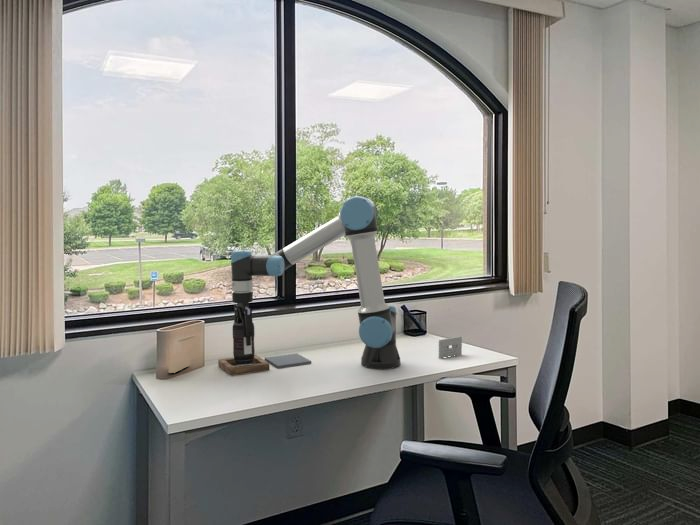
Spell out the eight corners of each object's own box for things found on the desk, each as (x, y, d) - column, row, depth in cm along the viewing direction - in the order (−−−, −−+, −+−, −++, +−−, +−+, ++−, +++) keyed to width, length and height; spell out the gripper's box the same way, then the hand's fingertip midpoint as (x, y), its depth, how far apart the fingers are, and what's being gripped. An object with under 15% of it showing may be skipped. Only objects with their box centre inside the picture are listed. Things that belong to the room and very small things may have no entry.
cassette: (440, 359, 224) (440, 340, 223) (437, 358, 225) (437, 339, 225) (462, 355, 230) (462, 336, 230) (459, 354, 232) (459, 336, 231)
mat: (311, 363, 217) (311, 361, 217) (277, 368, 210) (277, 365, 210) (296, 355, 229) (296, 353, 229) (264, 360, 223) (264, 357, 223)
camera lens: (258, 363, 210) (257, 323, 208) (237, 366, 205) (236, 326, 204) (250, 358, 217) (249, 320, 215) (230, 361, 212) (229, 322, 211)
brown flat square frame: (269, 370, 208) (269, 363, 208) (230, 375, 201) (230, 368, 201) (255, 360, 221) (255, 354, 221) (218, 365, 214) (218, 359, 214)
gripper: (224, 289, 216) (226, 347, 218) (241, 295, 198) (243, 358, 200) (243, 287, 220) (244, 344, 222) (261, 294, 202) (263, 355, 203)
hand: (244, 351), depth 211 cm, fingers closed on camera lens, 8 cm apart
